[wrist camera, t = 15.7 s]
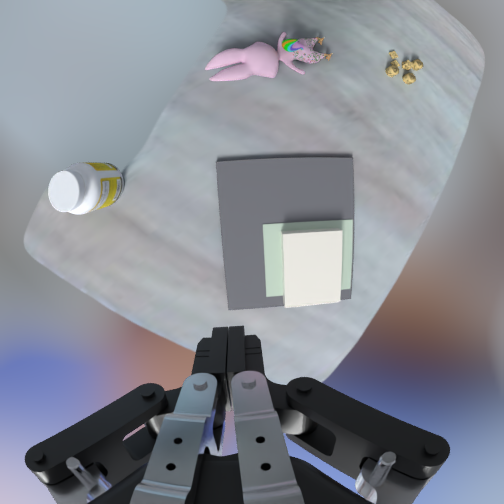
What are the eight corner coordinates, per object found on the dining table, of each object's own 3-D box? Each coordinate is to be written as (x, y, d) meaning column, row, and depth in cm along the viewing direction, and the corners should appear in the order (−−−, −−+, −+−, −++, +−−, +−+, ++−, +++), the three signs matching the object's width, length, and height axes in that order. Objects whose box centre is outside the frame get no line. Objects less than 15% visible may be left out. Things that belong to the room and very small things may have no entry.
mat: (216, 162, 31) (215, 161, 31) (351, 157, 32) (352, 157, 31) (228, 308, 36) (228, 310, 36) (349, 297, 37) (351, 298, 36)
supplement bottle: (82, 176, 31) (36, 180, 21) (114, 155, 30) (73, 150, 21) (98, 214, 32) (55, 228, 23) (131, 193, 32) (94, 202, 22)
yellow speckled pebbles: (417, 66, 29) (424, 62, 27) (411, 92, 30) (418, 89, 28) (388, 47, 28) (394, 43, 26) (381, 74, 30) (387, 70, 28)
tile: (342, 230, 32) (340, 301, 34) (337, 227, 33) (336, 296, 36) (282, 234, 32) (285, 307, 34) (280, 231, 33) (283, 302, 36)
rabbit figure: (309, 36, 29) (197, 58, 27) (328, 15, 23) (199, 34, 21) (328, 74, 30) (215, 102, 29) (351, 58, 25) (220, 83, 23)
